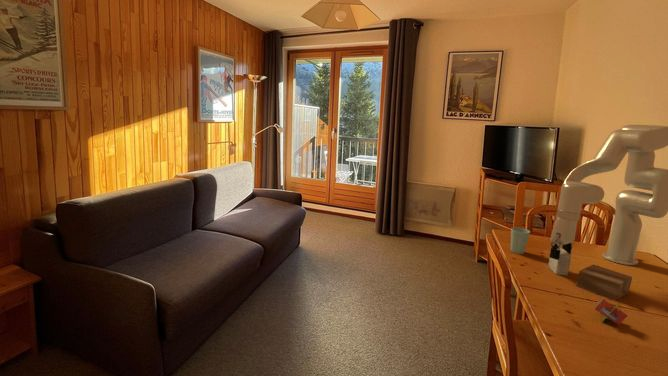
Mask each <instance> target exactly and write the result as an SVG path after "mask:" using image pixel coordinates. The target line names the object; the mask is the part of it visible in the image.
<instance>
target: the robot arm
mask: <svg viewBox="0 0 668 376" xmlns="http://www.w3.org/2000/svg"><path fill="white" fill-rule="evenodd" d="M666 147H668V126H667V125H656V124H655V125H653V124H652V125H649V124H627V125H623V126H622V127H620V129H616V130H613V131H611V132H610V133H609V135H608V136H607V137H606V139H605V140H604V142H603V143H602V145H601V147H600V148H599V149H598V150H597V152H596V154H595V155H594V157H593V158H591V159H590V160H587V161H585V162H583V163H582V164H580V165H578V166H577V167H575V168H574V169H572V170H571V171H570V173H568V175H567V177H566V178H565V180H564V181H563V183H562V184H561V188H560V194H559V199H558V200H559V201H558V206H557V211H556V214H555V216H556V217H555V221H554V224H553V228H552V231H551V235H550V242H551V243H550V245H551V246H550V252H549V259H550V258H553V259H556V260H559V256H560V251H561V250H560V248H563V249H564V250H565V251H567V252H568V253H569V254H570V255H572V249H573V245H574V243H573V242H574V240H575V237H576V233H577V225H578V222H579V221H580V217H581V213H582V208H583V204H590V205H594V204H597V203H600V202H601V201H602V200H603V199H604V196H605V191H604V188H603V187H602V186H600V185H597V184H593V183H587V182H583V180H585V179H586V178H588V177H591V176H593V175H597V174H602V173H608V172H612V171H615V170H617V169H618V167H619V166H620V164H621V162H622V161H623V160H624V159H625V157H626V155H628V157H627V161H626V162H627V163H626V167H625V172H624V184H625V185H626V186H627V187H631V188H635V189H638V190H639V189H640V190H646V191H651V192H652V193H649V192H646V191H645V192H644V191H640V190H639V191H638V190H634V189H633V190H632V189H625V190H621V191H620V192H618V193H617V195H616V196H615V213H614V220H613V223H612V224H613V225H612V227H611V233H610V239H609V242H608V247H607V251H605V252H602V254H601V257H602V258H604V259H606V260H607V261H610V262H613V263H615V264H618V265H619V264H621V265H623V266H624V265H626V266H637V265H639V260H638V259H636V258H635V256H636V254H637V249H638V244H639V240H640V236H641V232H642V227H643V221H642V219H641V217H640V216H644V217H647V218H648V217H649V218H653V219H661V218H664V217H665V216H666V215H667V214H668V169H667V168H661V167H655V165H654V164H655V161H656V152H655V151H658V150H661V149H665V148H666Z"/></svg>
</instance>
